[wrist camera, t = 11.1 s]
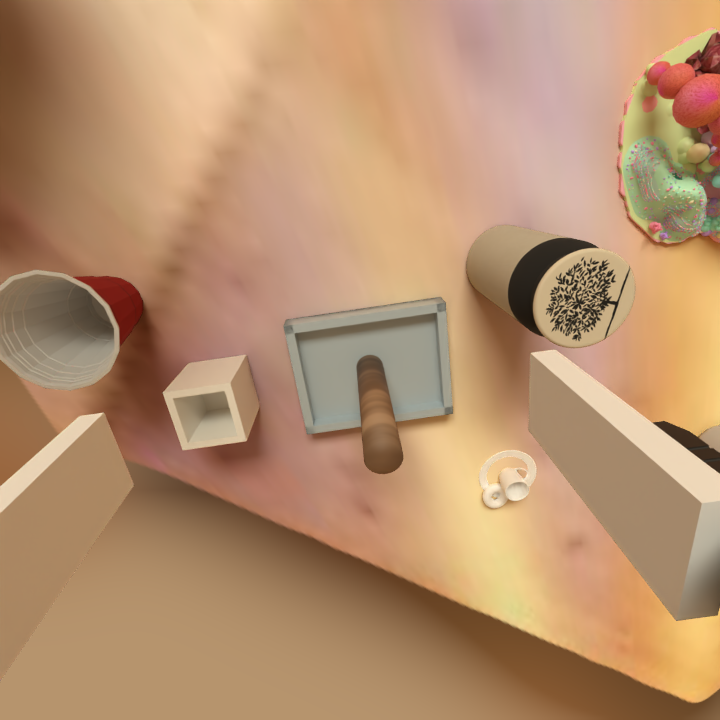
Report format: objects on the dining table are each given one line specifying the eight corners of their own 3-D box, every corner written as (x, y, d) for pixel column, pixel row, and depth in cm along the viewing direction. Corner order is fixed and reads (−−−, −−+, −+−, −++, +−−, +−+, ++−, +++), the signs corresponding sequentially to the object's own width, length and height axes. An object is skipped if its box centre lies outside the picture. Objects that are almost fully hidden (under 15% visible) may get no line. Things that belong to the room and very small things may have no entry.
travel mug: (455, 286, 49) (514, 338, 32) (480, 216, 46) (559, 231, 29) (519, 304, 50) (608, 362, 33) (547, 235, 47) (660, 262, 30)
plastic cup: (187, 296, 48) (140, 329, 37) (135, 363, 51) (77, 413, 40) (99, 229, 45) (20, 242, 34) (49, 304, 48) (-40, 339, 37)
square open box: (188, 363, 51) (162, 392, 44) (246, 354, 51) (230, 382, 43) (204, 414, 54) (182, 450, 46) (259, 406, 53) (246, 441, 46)
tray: (286, 319, 49) (283, 326, 47) (440, 297, 49) (445, 302, 47) (308, 424, 55) (307, 434, 52) (448, 404, 54) (453, 413, 52)
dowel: (354, 356, 51) (361, 444, 34) (381, 353, 50) (401, 438, 34) (358, 380, 52) (366, 476, 35) (384, 377, 52) (405, 471, 35)
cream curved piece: (489, 507, 61) (498, 528, 58) (462, 469, 59) (470, 489, 55) (544, 478, 60) (557, 497, 56) (519, 438, 57) (532, 455, 53)
